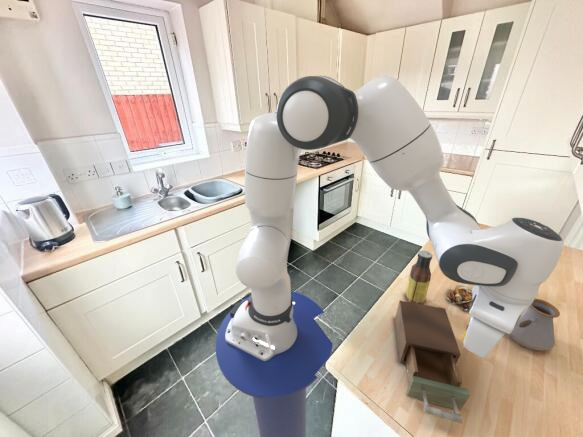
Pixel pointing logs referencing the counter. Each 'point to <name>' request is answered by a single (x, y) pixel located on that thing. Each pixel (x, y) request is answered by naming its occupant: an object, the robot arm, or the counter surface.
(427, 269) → the sauce bottle
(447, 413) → the drawer
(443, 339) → the cabinet
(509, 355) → the counter surface
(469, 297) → the pastry
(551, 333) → the coffee pot
